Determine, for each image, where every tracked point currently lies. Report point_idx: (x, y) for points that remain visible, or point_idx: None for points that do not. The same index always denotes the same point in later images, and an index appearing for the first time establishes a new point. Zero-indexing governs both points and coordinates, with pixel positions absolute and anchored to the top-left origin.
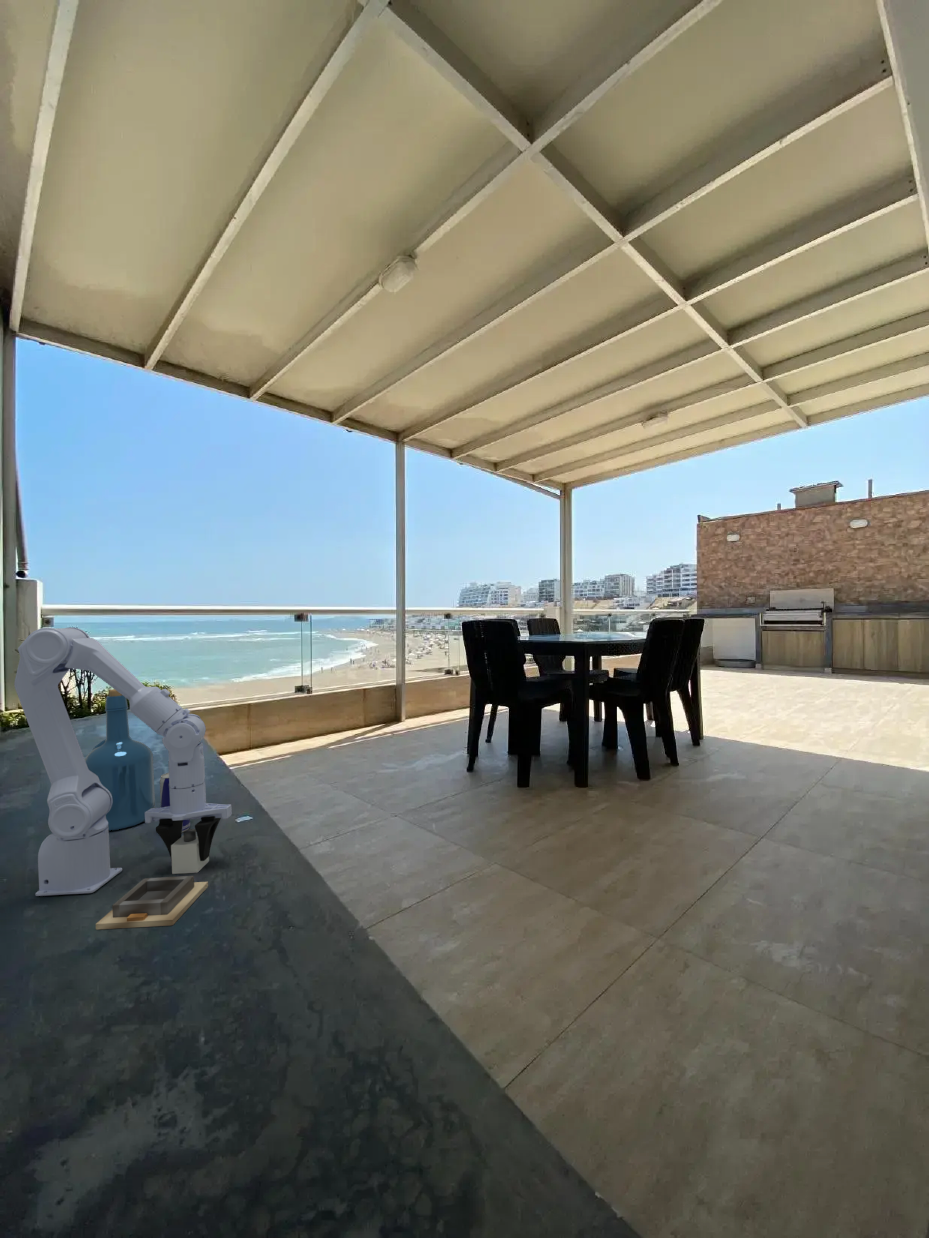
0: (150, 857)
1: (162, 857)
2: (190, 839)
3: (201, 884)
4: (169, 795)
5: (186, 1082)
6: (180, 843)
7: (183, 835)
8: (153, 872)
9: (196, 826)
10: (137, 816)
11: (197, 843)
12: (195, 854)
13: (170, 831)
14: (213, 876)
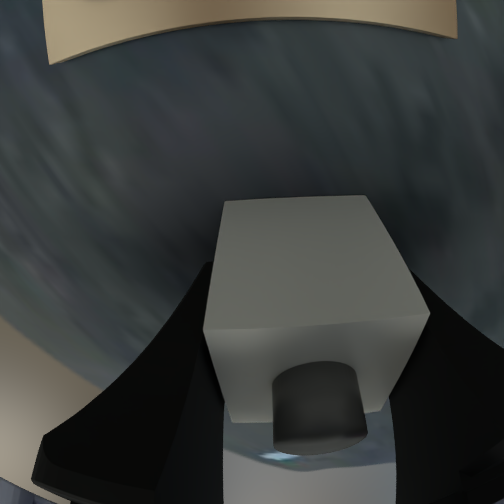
0: (477, 320)
1: None
2: (295, 380)
3: (65, 30)
4: None
5: None
6: (363, 341)
7: (360, 407)
8: (454, 219)
9: (127, 499)
10: None
11: (208, 341)
12: (221, 265)
13: (469, 421)
14: (105, 161)
